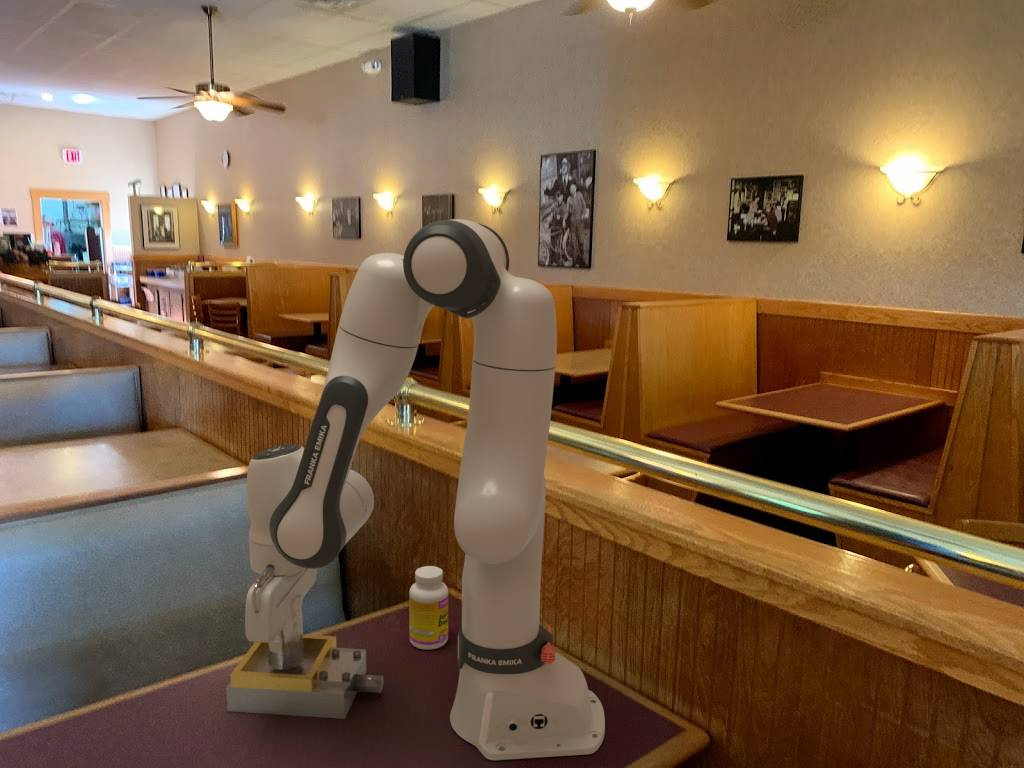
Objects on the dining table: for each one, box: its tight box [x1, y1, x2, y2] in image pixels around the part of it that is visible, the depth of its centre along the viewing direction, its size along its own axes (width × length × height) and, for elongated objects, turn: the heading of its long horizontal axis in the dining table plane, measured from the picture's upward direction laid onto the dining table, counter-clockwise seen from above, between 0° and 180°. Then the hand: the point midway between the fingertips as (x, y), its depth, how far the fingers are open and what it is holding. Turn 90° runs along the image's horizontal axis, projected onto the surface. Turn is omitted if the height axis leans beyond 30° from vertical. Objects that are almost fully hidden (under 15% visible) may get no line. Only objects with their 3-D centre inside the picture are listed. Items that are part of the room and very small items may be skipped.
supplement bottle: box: [408, 565, 449, 650], centre depth 133 cm, size 7×7×13 cm
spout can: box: [267, 594, 304, 669], centre depth 117 cm, size 7×5×11 cm
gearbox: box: [225, 634, 384, 720], centre depth 118 cm, size 22×12×6 cm, turn 86°
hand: (285, 638), depth 117 cm, fingers closed on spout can, 5 cm apart
